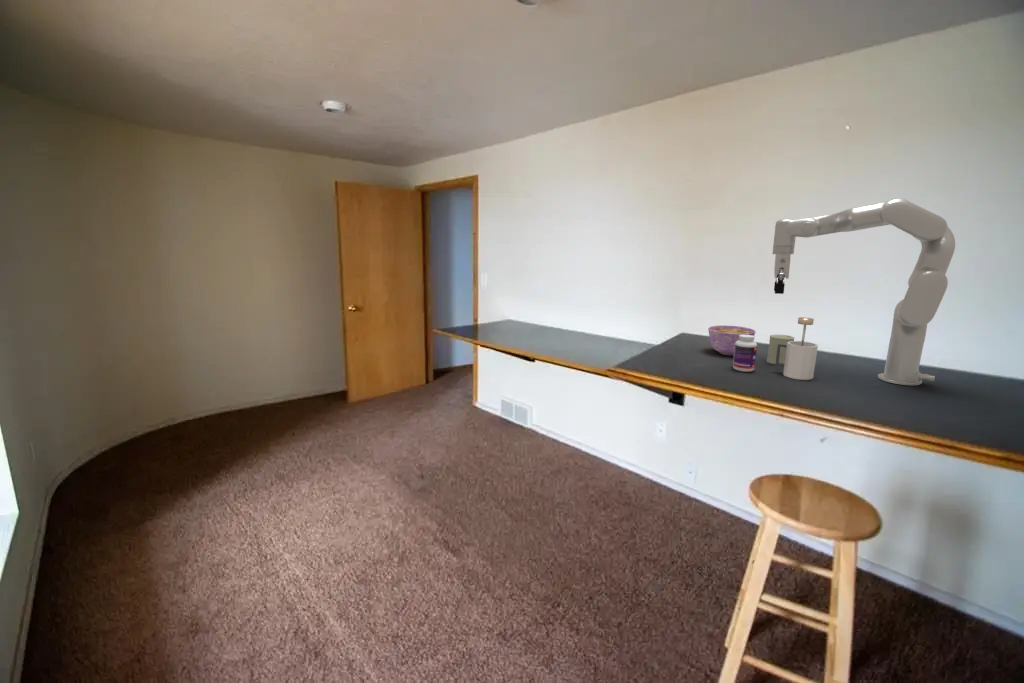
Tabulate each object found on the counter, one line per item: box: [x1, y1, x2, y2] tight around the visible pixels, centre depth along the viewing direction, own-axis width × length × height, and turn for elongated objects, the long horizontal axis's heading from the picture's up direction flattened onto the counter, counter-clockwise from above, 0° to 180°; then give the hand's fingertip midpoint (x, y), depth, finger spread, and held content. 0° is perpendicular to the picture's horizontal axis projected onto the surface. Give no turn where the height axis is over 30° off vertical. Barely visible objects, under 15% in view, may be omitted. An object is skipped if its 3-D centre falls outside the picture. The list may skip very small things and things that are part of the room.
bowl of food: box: [707, 325, 757, 357], centre depth 209 cm, size 20×20×12 cm
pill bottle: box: [732, 335, 758, 373], centre depth 183 cm, size 8×8×14 cm
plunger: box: [797, 317, 815, 346], centre depth 172 cm, size 7×7×14 cm
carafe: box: [774, 340, 819, 381], centre depth 175 cm, size 13×10×13 cm
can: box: [766, 334, 795, 365], centre depth 194 cm, size 9×9×12 cm
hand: (778, 292), depth 186 cm, fingers open, 9 cm apart
